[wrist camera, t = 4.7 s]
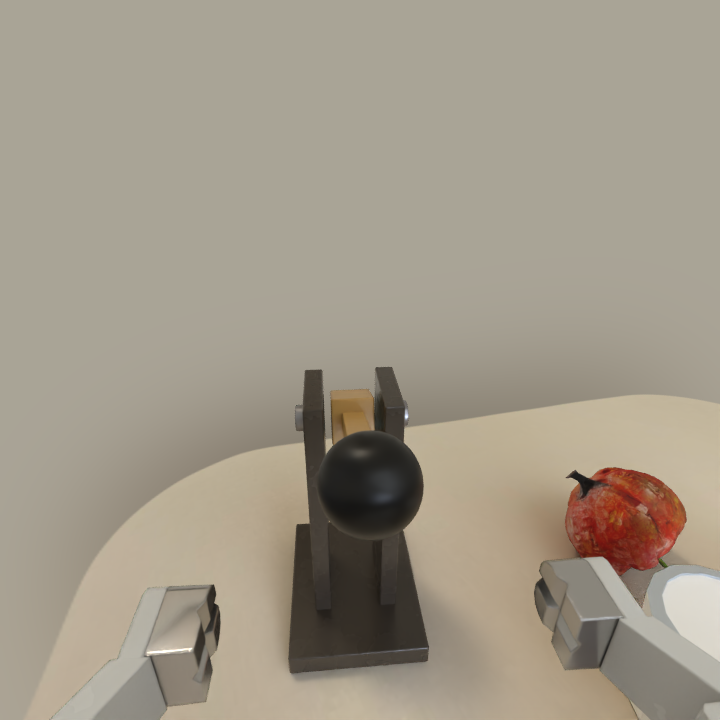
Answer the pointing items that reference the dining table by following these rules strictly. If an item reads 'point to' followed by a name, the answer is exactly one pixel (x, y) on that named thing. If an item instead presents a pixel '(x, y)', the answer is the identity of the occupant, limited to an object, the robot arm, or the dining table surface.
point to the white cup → (686, 606)
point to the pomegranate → (623, 518)
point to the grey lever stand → (350, 563)
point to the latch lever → (367, 473)
